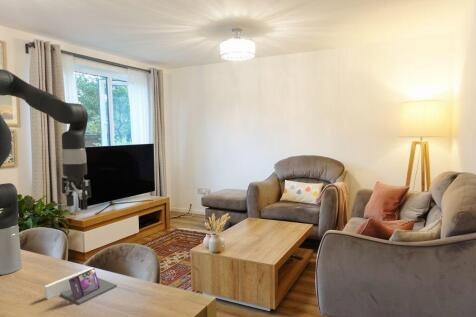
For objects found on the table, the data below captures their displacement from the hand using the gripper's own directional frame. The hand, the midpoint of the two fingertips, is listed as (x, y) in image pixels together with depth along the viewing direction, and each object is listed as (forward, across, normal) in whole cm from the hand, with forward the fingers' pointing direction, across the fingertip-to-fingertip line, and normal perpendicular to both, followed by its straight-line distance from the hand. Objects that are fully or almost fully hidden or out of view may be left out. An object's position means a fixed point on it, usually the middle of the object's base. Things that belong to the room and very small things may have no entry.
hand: (77, 207), depth 114 cm
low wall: (+26, +5, -6) cm, 27 cm away
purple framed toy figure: (+25, +13, -6) cm, 29 cm away
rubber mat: (+25, +12, -4) cm, 28 cm away
